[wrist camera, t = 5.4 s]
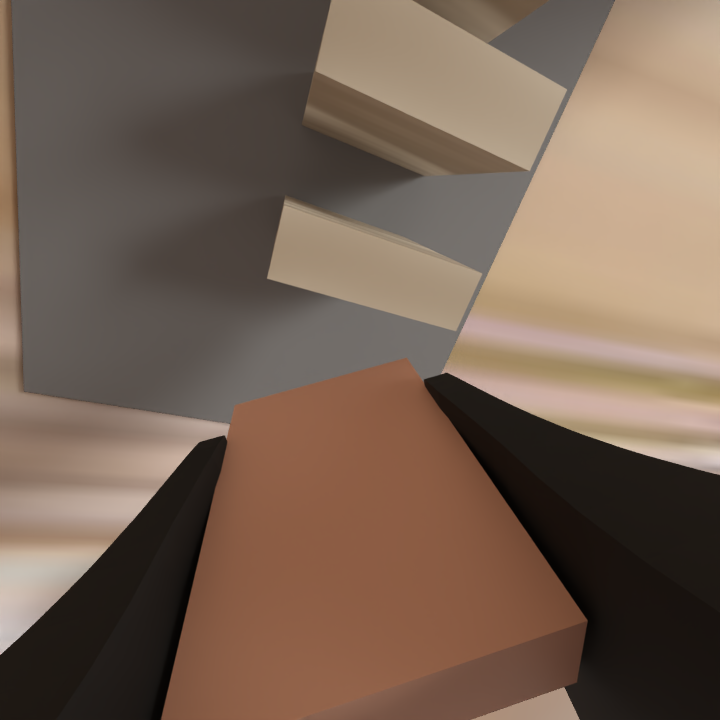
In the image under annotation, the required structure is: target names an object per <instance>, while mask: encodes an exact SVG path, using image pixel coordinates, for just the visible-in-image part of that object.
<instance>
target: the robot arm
mask: <svg viewBox="0 0 720 720" xmlns="http://www.w3.org/2000/svg"><path fill="white" fill-rule="evenodd" d="M424 385H425V387H426V389H427V390H428V392H429V393H430V395H431V396H432V398H433V399H434V400H435V402H436V403H437V405H438V406H439V408H440V409H441V410H442V411H443V413H444V414H445V415H446V416H447V417H448V418H449V420H450V421H451V423H452V424H453V426H454V427H455V429H456V430H457V431H458V433H459V434H460V436H461V437H462V439H463V440H464V442H465V443H466V445H467V446H468V447H469V449H470V450H471V452H472V453H473V455H474V456H475V458H476V459H477V461H478V462H479V463H480V465H481V466H482V468H483V469H484V471H485V472H486V474H487V475H488V477H489V478H490V479H491V481H492V482H493V484H494V485H495V487H496V488H497V490H498V491H499V493H500V494H501V495H502V497H503V498H504V500H505V501H506V503H507V504H508V506H509V507H510V509H511V510H512V511H513V513H514V514H515V516H516V517H517V519H518V520H519V522H520V523H521V525H522V526H523V527H524V529H525V530H526V532H527V533H528V535H529V536H530V538H531V539H532V541H533V542H534V543H535V545H536V546H537V548H538V549H539V551H540V552H541V554H542V555H543V556H544V558H545V559H546V561H547V562H548V564H549V565H550V567H551V568H552V570H553V571H554V572H555V574H556V575H557V577H558V578H559V580H560V581H561V583H562V584H563V586H564V587H565V588H566V590H567V591H568V593H569V594H570V596H571V597H572V599H573V600H574V602H575V603H576V604H577V606H578V607H579V609H580V610H581V612H582V613H583V615H584V616H585V618H586V619H587V620H588V622H587V627H586V633H585V639H584V644H583V650H582V656H581V661H580V667H579V673H578V678H577V683H574V684H571V685H568V686H565V689H566V691H567V693H568V696H569V698H570V700H571V702H572V704H573V706H574V708H575V710H576V713H577V715H578V717H579V719H580V720H720V475H717V474H713V473H709V472H705V471H701V470H697V469H693V468H690V467H686V466H682V465H679V464H675V463H672V462H668V461H664V460H661V459H657V458H653V457H650V456H646V455H643V454H640V453H636V452H633V451H630V450H627V449H623V448H620V447H617V446H614V445H612V444H609V443H606V442H603V441H600V440H597V439H594V438H591V437H588V436H585V435H582V434H580V433H577V432H574V431H572V430H569V429H566V428H564V427H561V426H559V425H556V424H554V423H552V422H549V421H547V420H544V419H542V418H540V417H537V416H535V415H533V414H530V413H528V412H526V411H524V410H521V409H519V408H517V407H515V406H513V405H510V404H508V403H506V402H504V401H502V400H500V399H498V398H496V397H494V396H492V395H490V394H488V393H486V392H484V391H482V390H480V389H478V388H476V387H474V386H472V385H470V384H468V383H466V382H464V381H463V380H461V379H459V378H457V377H455V376H453V375H450V374H448V373H444V374H441V375H437V376H434V377H430V378H426V379H424ZM226 447H227V440H226V438H225V436H224V435H223V436H220V437H216V438H213V439H209V440H206V441H202V442H199V443H198V444H197V445H196V446H195V447H194V449H193V450H192V451H191V452H190V453H189V454H188V455H187V457H186V458H185V459H184V460H183V461H182V463H181V464H180V465H179V466H178V467H177V469H176V470H175V471H174V472H173V473H172V475H171V476H170V477H169V478H168V479H167V481H166V482H165V483H164V484H163V485H162V487H161V488H160V489H159V490H158V491H157V493H156V494H155V495H154V496H153V497H152V499H151V500H150V501H149V502H148V503H147V505H146V506H145V507H144V508H143V509H142V511H141V512H140V513H139V514H138V515H137V516H136V518H135V519H134V520H133V521H132V522H131V523H130V524H129V525H128V526H127V528H126V529H125V530H124V531H123V532H122V533H121V534H120V535H119V537H118V538H117V539H116V540H115V541H114V542H113V543H112V544H111V545H110V547H109V548H108V549H107V550H106V551H105V552H104V553H103V554H102V555H101V557H100V558H99V559H98V560H97V561H96V562H95V563H94V564H93V565H92V566H91V567H90V568H89V570H88V571H87V572H86V573H85V574H84V575H83V576H82V577H81V578H80V579H79V580H78V581H77V582H76V583H75V584H74V585H73V586H72V587H71V588H70V589H69V590H68V591H67V592H66V593H65V594H64V595H63V596H62V597H61V598H60V599H59V600H58V601H57V602H56V603H55V604H54V605H53V606H52V607H51V608H50V609H49V610H48V611H47V612H46V613H45V614H44V615H43V616H42V617H41V618H40V619H39V620H38V621H37V622H36V623H35V624H34V625H32V626H31V627H30V628H29V629H28V630H27V631H26V632H25V633H24V634H23V635H22V636H21V637H20V638H19V639H18V640H16V641H15V642H14V643H13V644H12V645H11V646H10V647H9V648H8V649H6V650H5V651H4V652H3V653H2V654H1V655H0V720H161V718H162V713H163V709H164V705H165V701H166V696H167V692H168V688H169V684H170V679H171V675H172V671H173V666H174V662H175V658H176V654H177V649H178V645H179V641H180V637H181V632H182V628H183V624H184V620H185V615H186V611H187V607H188V602H189V598H190V594H191V590H192V585H193V581H194V577H195V573H196V568H197V564H198V560H199V556H200V551H201V547H202V543H203V538H204V534H205V530H206V526H207V521H208V517H209V513H210V509H211V504H212V500H213V496H214V492H215V487H216V484H217V481H218V478H219V475H220V473H221V469H222V464H223V460H224V455H225V451H226Z"/></svg>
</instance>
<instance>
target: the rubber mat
mask: <svg viewBox="0 0 720 720" xmlns="http://www.w3.org/2000/svg"><path fill="white" fill-rule="evenodd" d="M614 2H615V0H549V1H548V2H546V3H545V4H543V5H542V6H540V7H539V8H538V9H536V10H535V11H533V12H532V13H530V14H529V15H527V16H526V17H525V18H523V19H522V20H520V21H519V22H517V23H516V24H515V25H513V26H512V27H510V28H509V29H507V30H506V31H505V32H503V33H502V34H500V35H499V36H497V37H496V38H494V39H493V40H492V41H490V42H489V43H487V44H489V45H491V46H492V47H494V48H496V49H498V50H499V51H501V52H503V53H505V54H506V55H508V56H510V57H512V58H513V59H515V60H517V61H519V62H520V63H522V64H524V65H525V66H527V67H529V68H531V69H532V70H534V71H536V72H538V73H539V74H541V75H543V76H545V77H546V78H548V79H550V80H552V81H553V82H555V83H557V84H559V85H560V86H562V87H564V88H565V89H567V91H566V93H565V96H564V98H563V100H562V102H561V104H560V106H559V109H558V111H557V113H556V115H555V117H554V119H553V122H552V124H551V126H550V128H549V130H548V132H547V135H546V137H545V139H544V141H543V143H542V145H541V148H540V150H539V152H538V154H537V156H536V158H535V161H534V163H533V165H532V167H531V169H530V171H522V172H501V173H481V174H460V175H439V176H423V175H421V174H418V173H416V172H413V171H411V170H409V169H406V168H404V167H401V166H399V165H397V164H394V163H392V162H389V161H387V160H385V159H382V158H380V157H377V156H375V155H373V154H370V153H368V152H365V151H363V150H361V149H358V148H356V147H353V146H351V145H349V144H346V143H344V142H341V141H339V140H337V139H334V138H332V137H329V136H327V135H325V134H322V133H320V132H317V131H315V130H313V129H310V128H308V127H305V126H303V125H302V121H303V117H304V113H305V108H306V104H307V100H308V95H309V91H310V87H311V82H312V78H313V74H314V70H315V65H316V61H317V57H318V53H319V49H320V45H321V41H322V36H323V32H324V28H325V24H326V20H327V16H328V12H329V8H330V3H331V0H11V7H12V38H13V69H14V100H15V131H16V162H17V193H18V224H19V255H20V286H21V317H22V348H23V379H24V392H30V393H37V394H43V395H49V396H56V397H62V398H69V399H75V400H81V401H88V402H94V403H101V404H107V405H114V406H120V407H126V408H133V409H139V410H146V411H152V412H159V413H165V414H171V415H178V416H184V417H191V418H197V419H203V420H210V421H216V422H223V423H229V424H230V423H231V419H232V415H233V410H234V406H235V405H237V404H241V403H244V402H248V401H251V400H255V399H259V398H262V397H266V396H270V395H273V394H277V393H280V392H284V391H288V390H291V389H295V388H299V387H302V386H306V385H309V384H313V383H317V382H320V381H324V380H327V379H331V378H335V377H338V376H342V375H346V374H349V373H353V372H356V371H360V370H364V369H367V368H371V367H375V366H378V365H382V364H385V363H389V362H393V361H396V360H400V359H403V358H407V359H408V360H409V362H410V363H411V365H412V366H413V367H414V369H415V370H416V372H417V373H418V375H419V376H420V378H421V379H422V381H423V382H424V379H426V378H430V377H434V376H437V375H441V373H442V371H443V368H444V366H445V364H446V362H447V360H448V358H449V356H450V353H451V351H452V349H453V347H454V345H455V343H456V341H457V338H458V336H459V334H460V332H461V330H462V328H463V326H464V323H465V321H466V319H467V317H468V315H469V313H470V311H471V308H472V306H473V304H474V302H475V300H476V298H477V295H478V293H479V291H480V289H481V287H482V285H483V283H484V280H485V278H486V276H487V274H488V272H489V270H490V268H491V265H492V263H493V261H494V259H495V257H496V255H497V253H498V250H499V248H500V246H501V244H502V242H503V240H504V238H505V235H506V233H507V231H508V229H509V227H510V225H511V223H512V220H513V218H514V216H515V214H516V212H517V210H518V208H519V205H520V203H521V201H522V199H523V197H524V195H525V192H526V190H527V188H528V186H529V184H530V182H531V180H532V177H533V175H534V173H535V171H536V169H537V167H538V165H539V162H540V160H541V158H542V156H543V154H544V152H545V150H546V147H547V145H548V143H549V141H550V139H551V137H552V135H553V132H554V130H555V128H556V126H557V124H558V122H559V120H560V117H561V115H562V113H563V111H564V109H565V107H566V105H567V102H568V100H569V98H570V96H571V94H572V92H573V89H574V87H575V85H576V83H577V81H578V79H579V77H580V74H581V72H582V70H583V68H584V66H585V64H586V62H587V59H588V57H589V55H590V53H591V51H592V49H593V47H594V44H595V42H596V40H597V38H598V36H599V34H600V32H601V29H602V27H603V25H604V23H605V21H606V19H607V17H608V14H609V12H610V10H611V8H612V6H613V4H614ZM285 195H286V196H289V197H292V198H295V199H298V200H301V201H304V202H306V203H309V204H312V205H315V206H318V207H321V208H323V209H326V210H329V211H332V212H335V213H338V214H340V215H343V216H346V217H349V218H352V219H355V220H357V221H360V222H363V223H366V224H369V225H372V226H374V227H377V228H380V229H383V230H386V231H389V232H391V233H394V234H397V235H400V236H403V237H405V238H407V239H409V240H411V241H414V242H416V243H418V244H420V245H422V246H424V247H426V248H429V249H431V250H433V251H435V252H437V253H439V254H442V255H444V256H446V257H448V258H450V259H452V260H454V261H457V262H459V263H461V264H463V265H465V266H467V267H470V268H472V269H474V270H476V271H478V272H480V273H482V276H481V278H480V280H479V282H478V284H477V287H476V289H475V291H474V293H473V295H472V297H471V300H470V302H469V304H468V306H467V308H466V311H465V313H464V315H463V317H462V319H461V321H460V324H459V326H458V328H457V330H456V331H453V330H450V329H446V328H442V327H439V326H435V325H432V324H428V323H425V322H421V321H417V320H414V319H410V318H407V317H403V316H399V315H396V314H392V313H389V312H385V311H382V310H378V309H374V308H371V307H367V306H364V305H360V304H356V303H353V302H349V301H346V300H342V299H339V298H335V297H331V296H328V295H324V294H321V293H317V292H313V291H310V290H306V289H303V288H299V287H296V286H292V285H288V284H285V283H281V282H278V281H274V280H271V279H267V276H268V272H269V267H270V262H271V257H272V253H273V248H274V243H275V238H276V234H277V229H278V225H279V221H280V217H281V212H282V208H283V204H284V199H285Z"/></svg>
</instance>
